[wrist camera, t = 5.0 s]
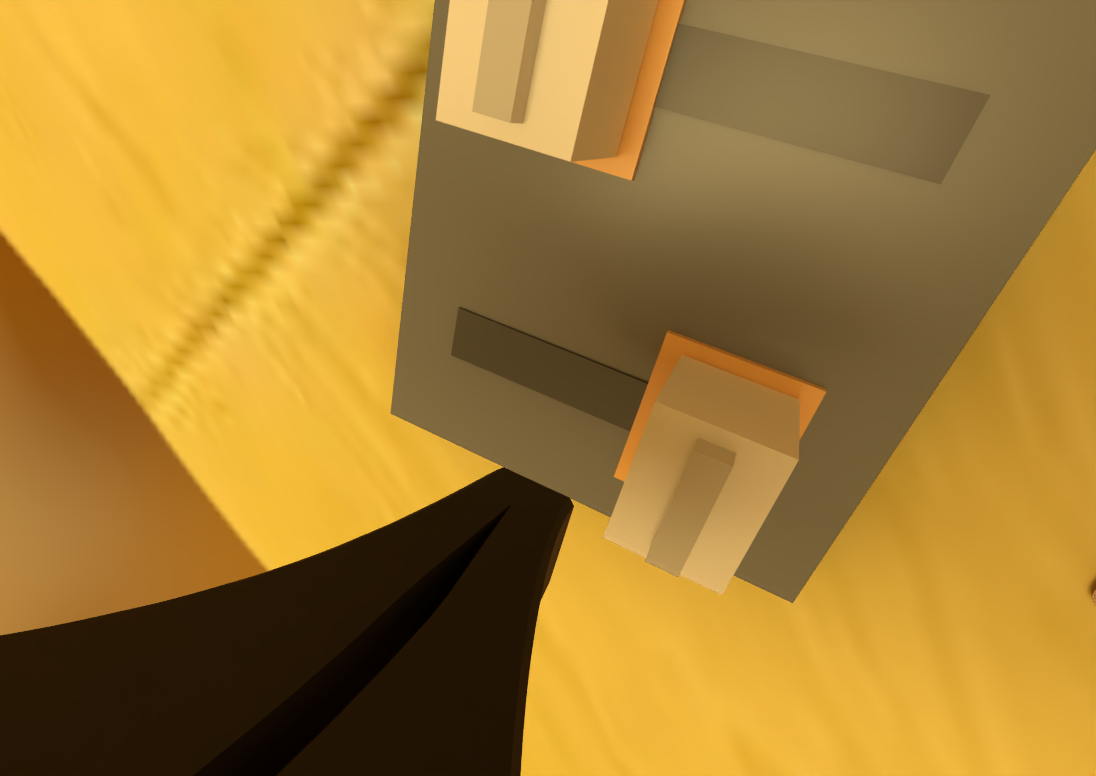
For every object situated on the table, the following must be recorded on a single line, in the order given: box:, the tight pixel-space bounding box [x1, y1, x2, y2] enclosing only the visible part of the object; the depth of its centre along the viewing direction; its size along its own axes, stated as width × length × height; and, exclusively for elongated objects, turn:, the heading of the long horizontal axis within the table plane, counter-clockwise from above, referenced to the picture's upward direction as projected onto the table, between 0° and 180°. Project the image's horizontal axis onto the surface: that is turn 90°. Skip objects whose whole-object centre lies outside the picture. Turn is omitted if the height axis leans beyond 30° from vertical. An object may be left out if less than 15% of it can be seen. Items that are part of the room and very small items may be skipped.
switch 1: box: [436, 0, 659, 162], centre depth 11 cm, size 3×4×4 cm
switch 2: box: [603, 355, 800, 595], centre depth 13 cm, size 3×4×4 cm
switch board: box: [391, 0, 1096, 603], centre depth 12 cm, size 14×24×2 cm, turn 167°
